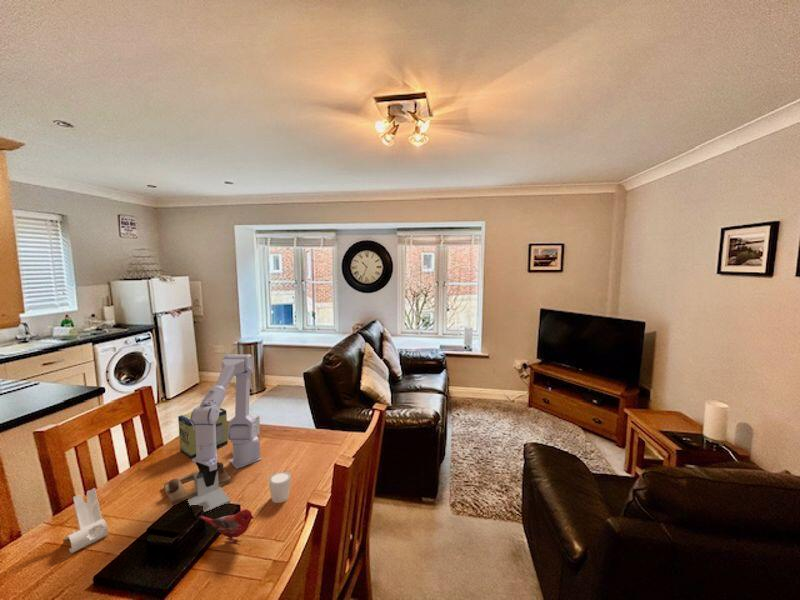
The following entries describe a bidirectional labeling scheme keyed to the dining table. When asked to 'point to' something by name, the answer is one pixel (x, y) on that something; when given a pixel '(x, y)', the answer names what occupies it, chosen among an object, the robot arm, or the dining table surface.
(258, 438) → the skincare box
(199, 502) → the grey square tile
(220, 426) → the protein box
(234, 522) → the decorative bird figurine
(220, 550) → the dining table surface
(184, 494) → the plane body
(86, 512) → the plastic part
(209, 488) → the lever cap
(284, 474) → the white cylinder
